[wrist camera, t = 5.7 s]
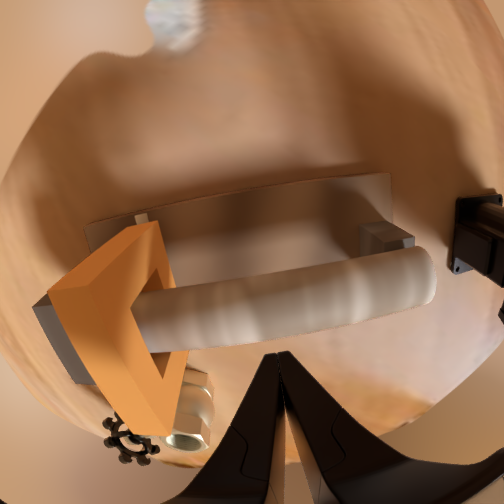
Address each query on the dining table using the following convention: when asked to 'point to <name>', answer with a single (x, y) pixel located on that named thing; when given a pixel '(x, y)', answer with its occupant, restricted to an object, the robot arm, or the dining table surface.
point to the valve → (184, 426)
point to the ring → (123, 327)
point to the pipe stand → (267, 266)
